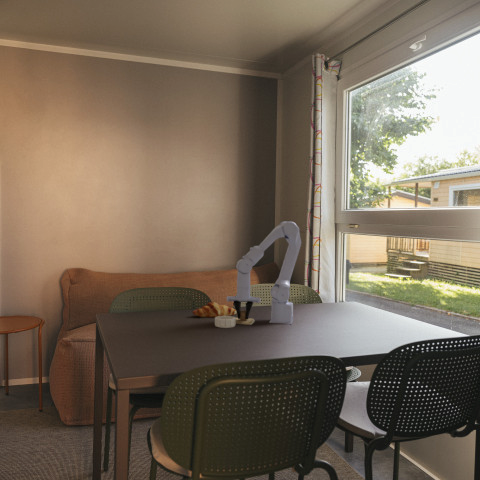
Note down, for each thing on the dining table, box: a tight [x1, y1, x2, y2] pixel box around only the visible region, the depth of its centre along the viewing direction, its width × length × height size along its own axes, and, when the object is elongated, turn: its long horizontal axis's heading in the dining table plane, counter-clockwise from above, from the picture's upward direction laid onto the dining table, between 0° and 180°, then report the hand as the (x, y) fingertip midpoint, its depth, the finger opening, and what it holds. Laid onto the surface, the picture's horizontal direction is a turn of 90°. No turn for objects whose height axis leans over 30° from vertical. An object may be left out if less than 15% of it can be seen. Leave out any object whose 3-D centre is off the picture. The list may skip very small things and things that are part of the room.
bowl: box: [214, 315, 237, 329], centre depth 187 cm, size 8×8×4 cm
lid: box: [235, 309, 255, 325], centre depth 194 cm, size 8×8×5 cm
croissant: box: [192, 301, 237, 318], centre depth 207 cm, size 21×10×8 cm, turn 108°
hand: (243, 318), depth 194 cm, fingers closed on lid, 3 cm apart
